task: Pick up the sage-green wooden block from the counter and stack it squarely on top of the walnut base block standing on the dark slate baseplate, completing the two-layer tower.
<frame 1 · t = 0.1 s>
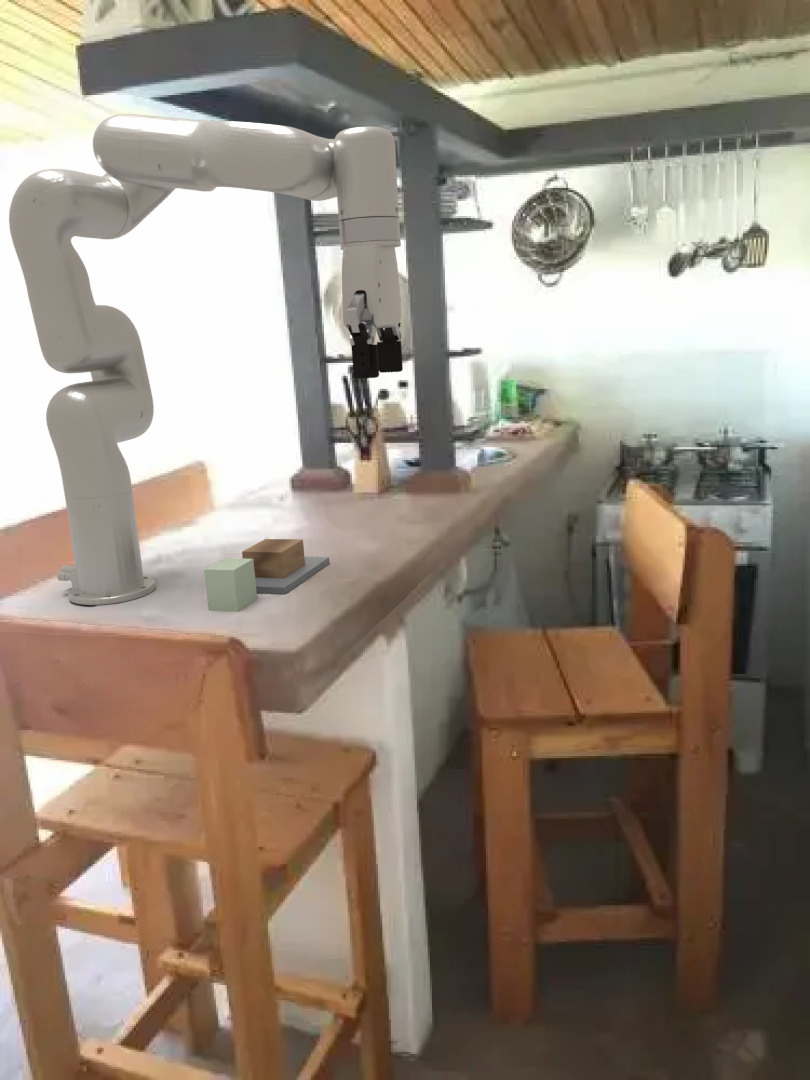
hand: (379, 374, 121), 31 cm above the counter, fingers open, 9 cm apart
slate baseplate: (276, 576, 145), on the counter
sage block: (233, 604, 132), on the counter
walnut base block: (274, 558, 144), on the slate baseplate, point 3 cm above the counter
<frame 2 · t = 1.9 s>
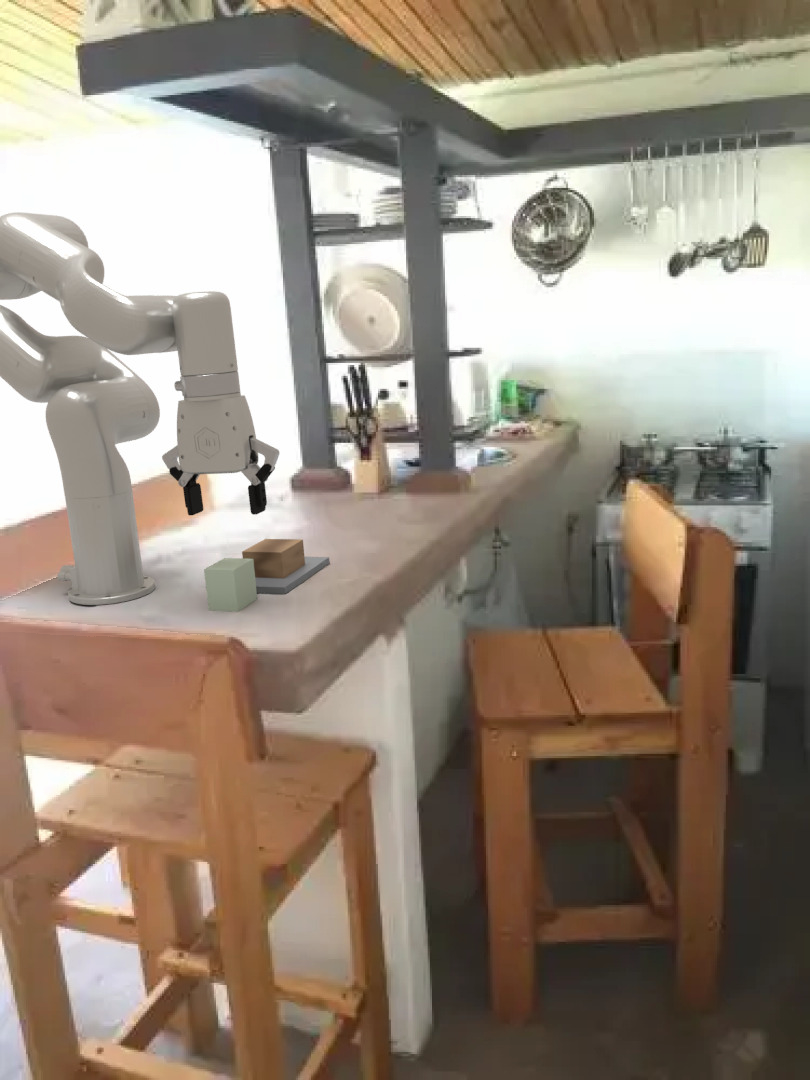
hand: (226, 512, 129), 13 cm above the counter, fingers open, 9 cm apart
nothing on the counter moved.
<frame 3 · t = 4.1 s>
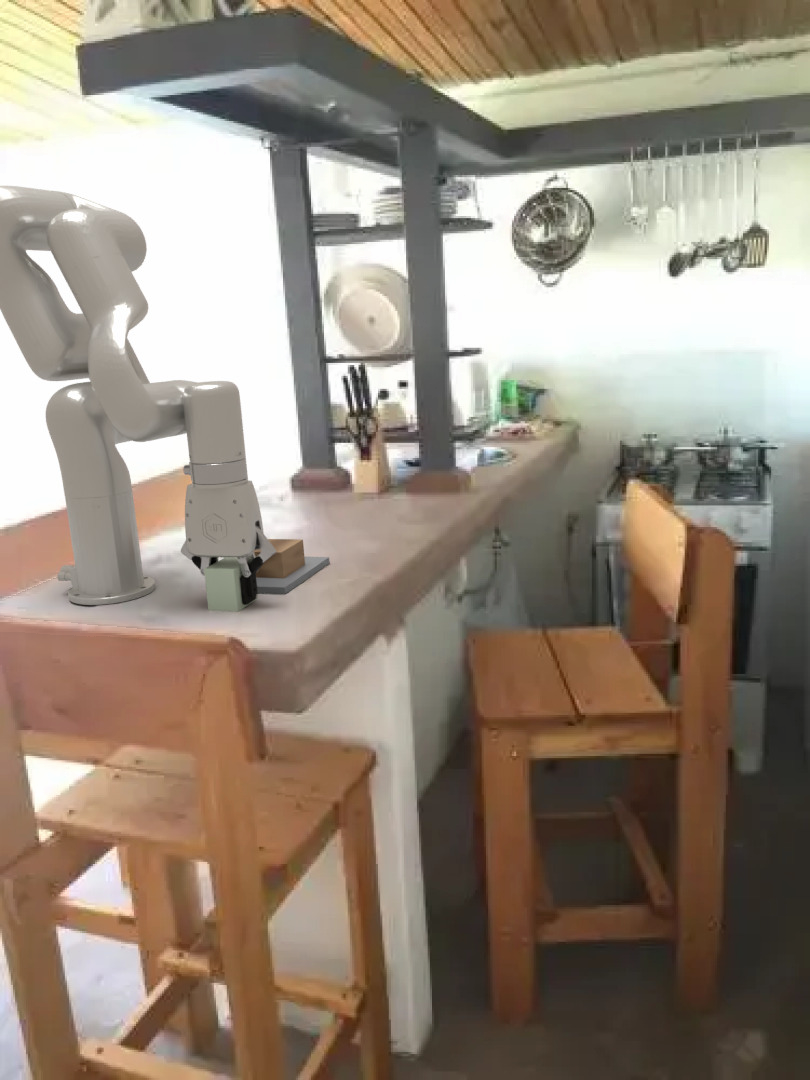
hand: (232, 599, 132), 1 cm above the counter, fingers closed on sage block, 4 cm apart
sage block: (233, 604, 132), on the counter, touching gripper
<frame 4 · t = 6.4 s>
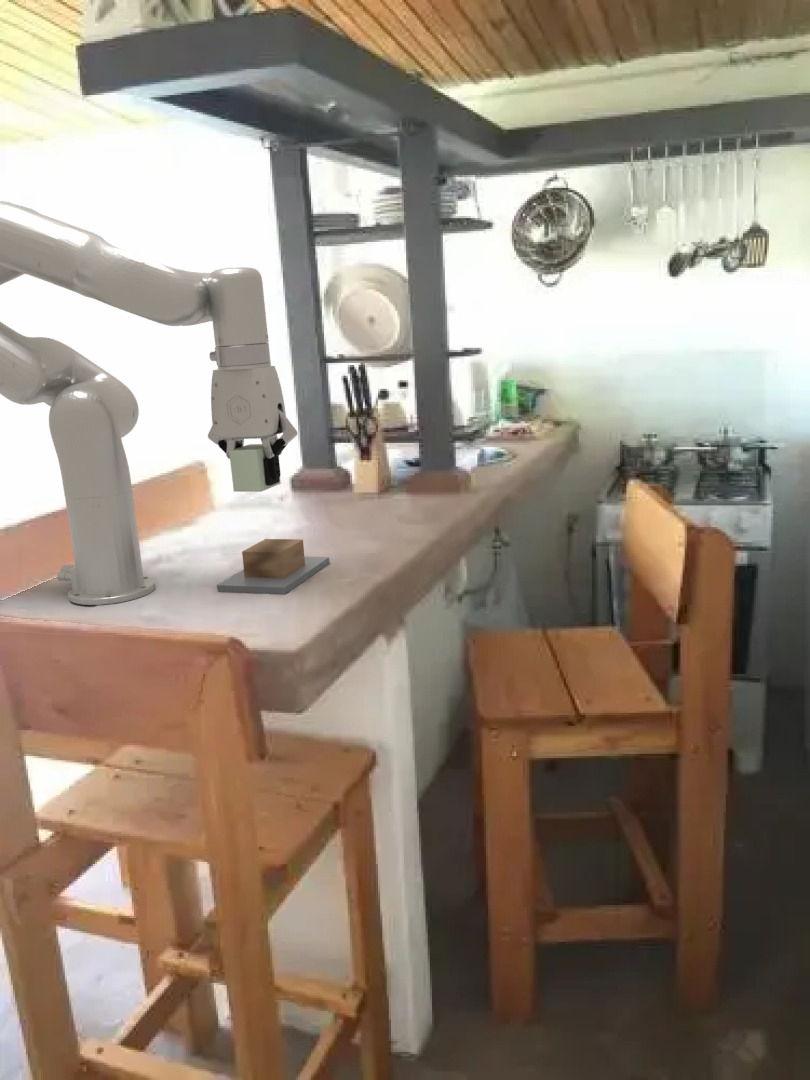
hand: (257, 482, 138), 16 cm above the counter, fingers closed on sage block, 4 cm apart
sage block: (257, 487, 138), point 15 cm above the counter, touching gripper
when the fingers open (7 cm above the counter, at t = 9.0 s): sage block drops 1 cm, resting on walnut base block.
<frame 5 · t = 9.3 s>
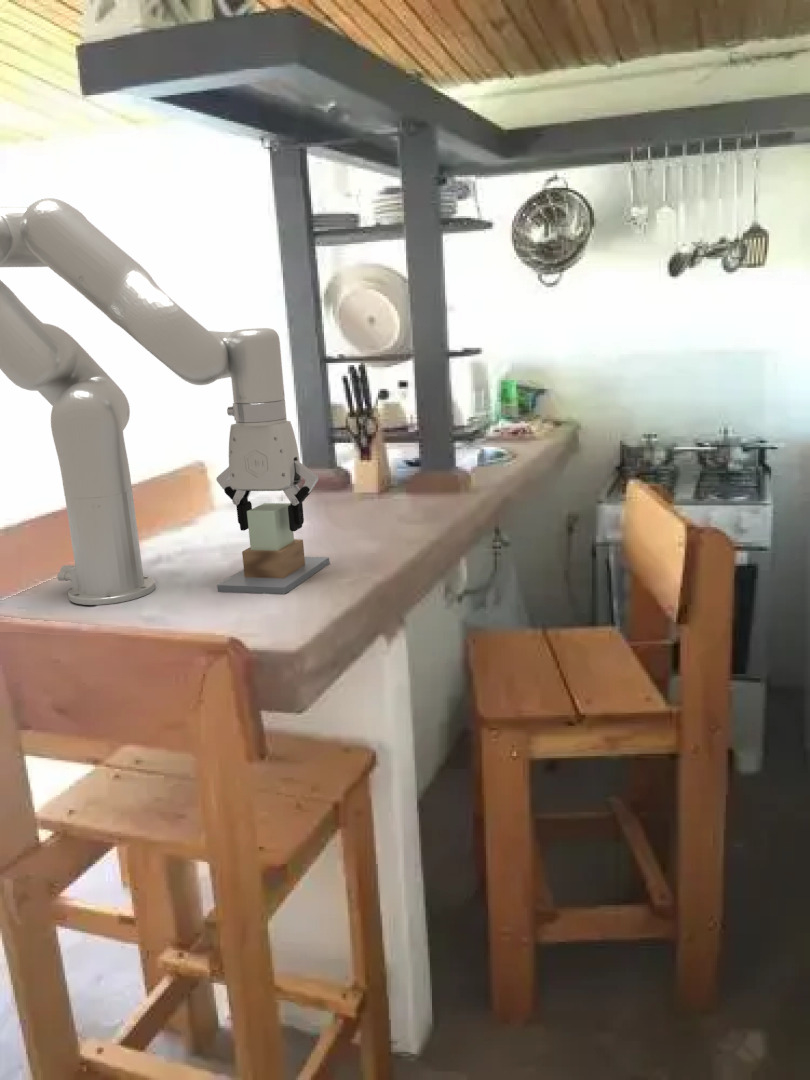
hand: (271, 528, 143), 8 cm above the counter, fingers open, 7 cm apart
sage block: (272, 545, 144), point 5 cm above the counter, touching walnut base block
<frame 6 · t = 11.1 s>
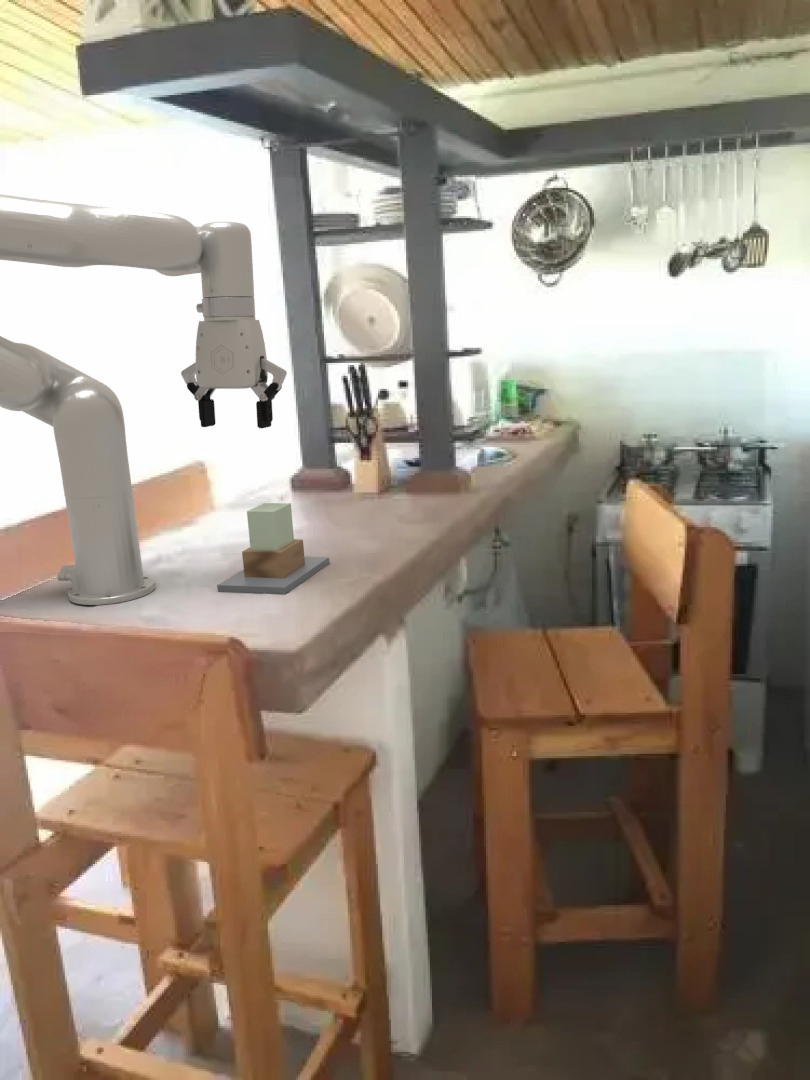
hand: (236, 426, 142), 23 cm above the counter, fingers open, 9 cm apart
nothing on the counter moved.
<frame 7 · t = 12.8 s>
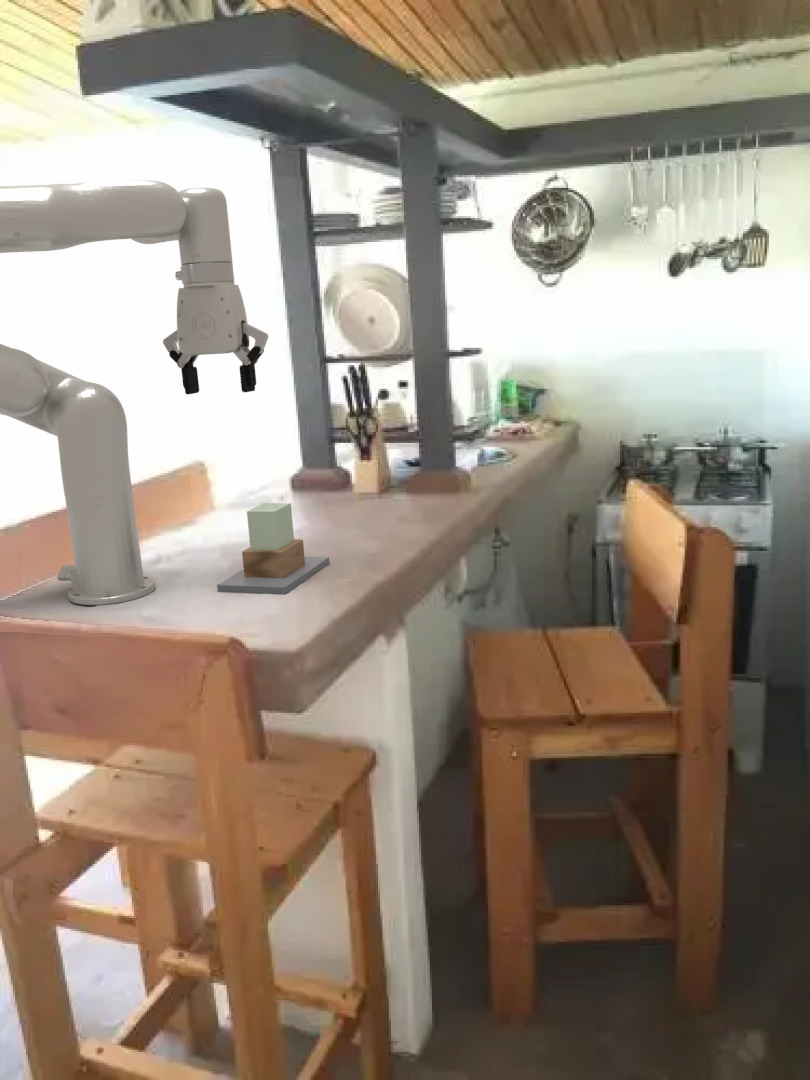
hand: (220, 392, 144), 28 cm above the counter, fingers open, 9 cm apart
nothing on the counter moved.
at the end: sage block 0.0 cm off-centre on the walnut base block, point 5.0 cm above the walnut base block's base; sage block tilted 0°; the gripper is holding nothing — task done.
